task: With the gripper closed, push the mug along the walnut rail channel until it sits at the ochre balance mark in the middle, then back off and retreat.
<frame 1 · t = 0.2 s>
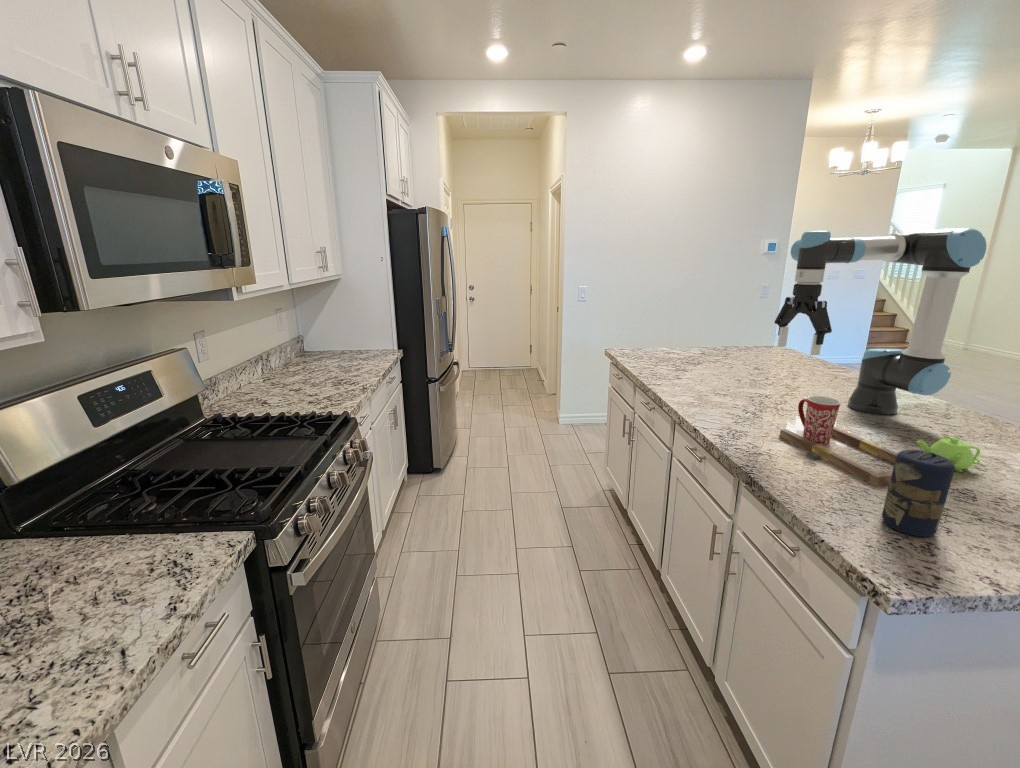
hand: (797, 350, 153), 27 cm above the counter, fingers open, 13 cm apart
teapot: (943, 466, 134), on the counter
canister: (907, 528, 104), on the counter
mug: (811, 438, 153), on the counter
beam slot: (846, 454, 141), on the counter
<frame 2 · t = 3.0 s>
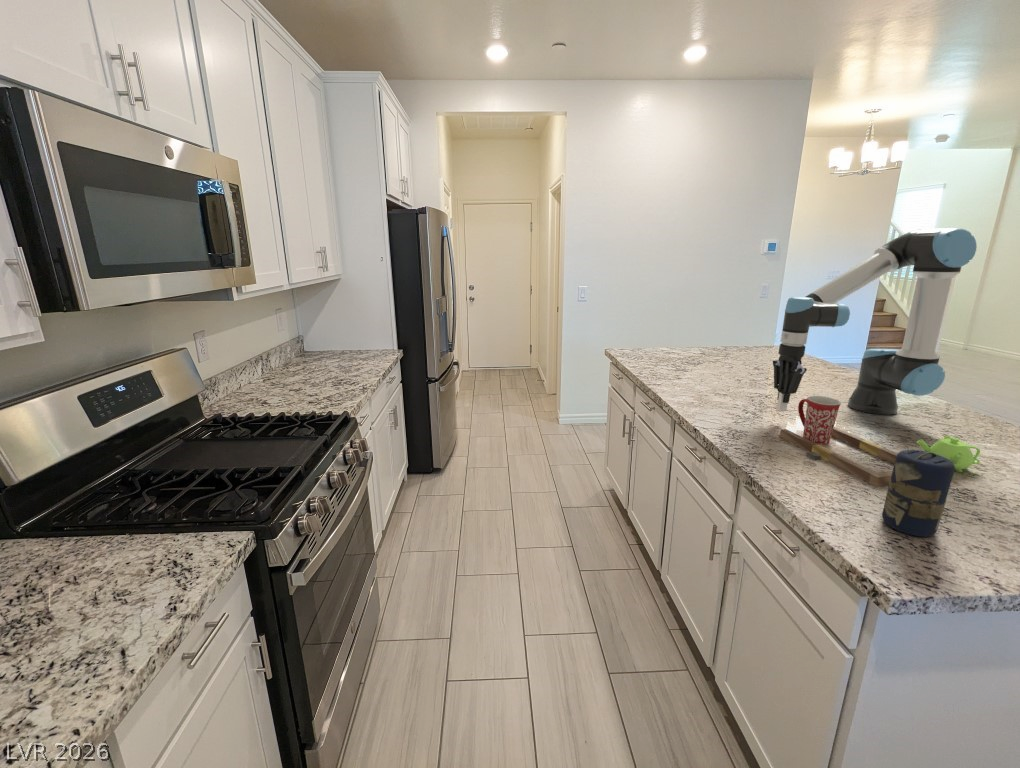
hand: (781, 410, 165), 5 cm above the counter, fingers closed
nothing on the counter moved.
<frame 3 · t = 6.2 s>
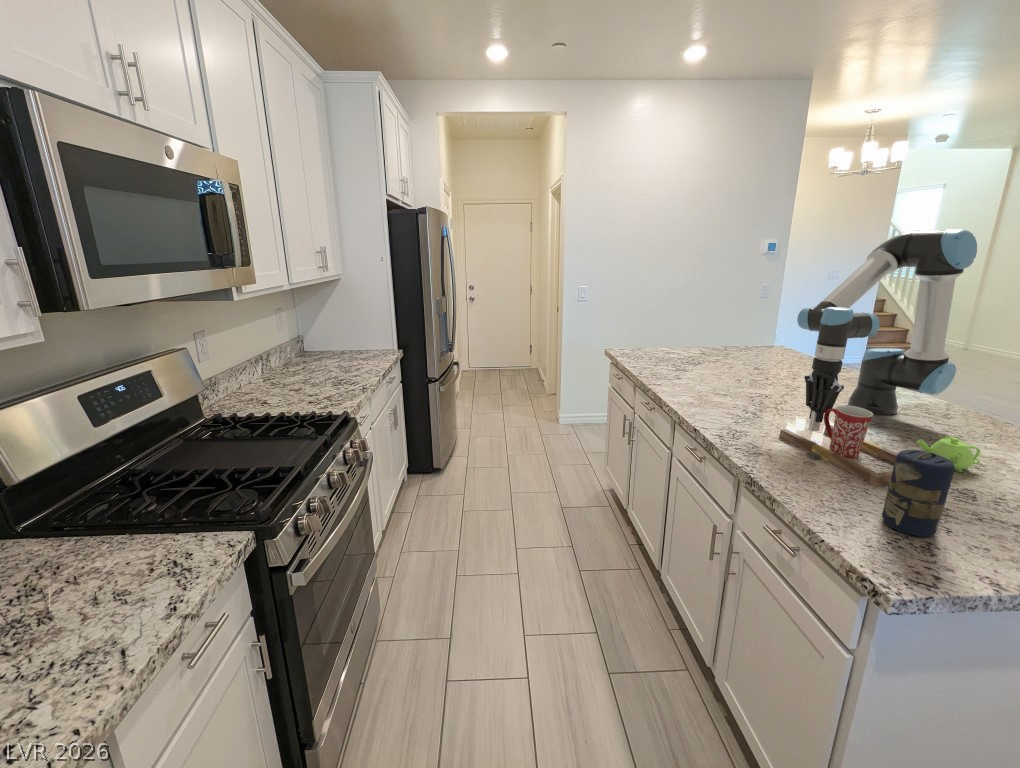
hand: (813, 430, 152), 3 cm above the counter, fingers closed
mug: (838, 450, 144), on the counter, touching hand
everything else where it was.
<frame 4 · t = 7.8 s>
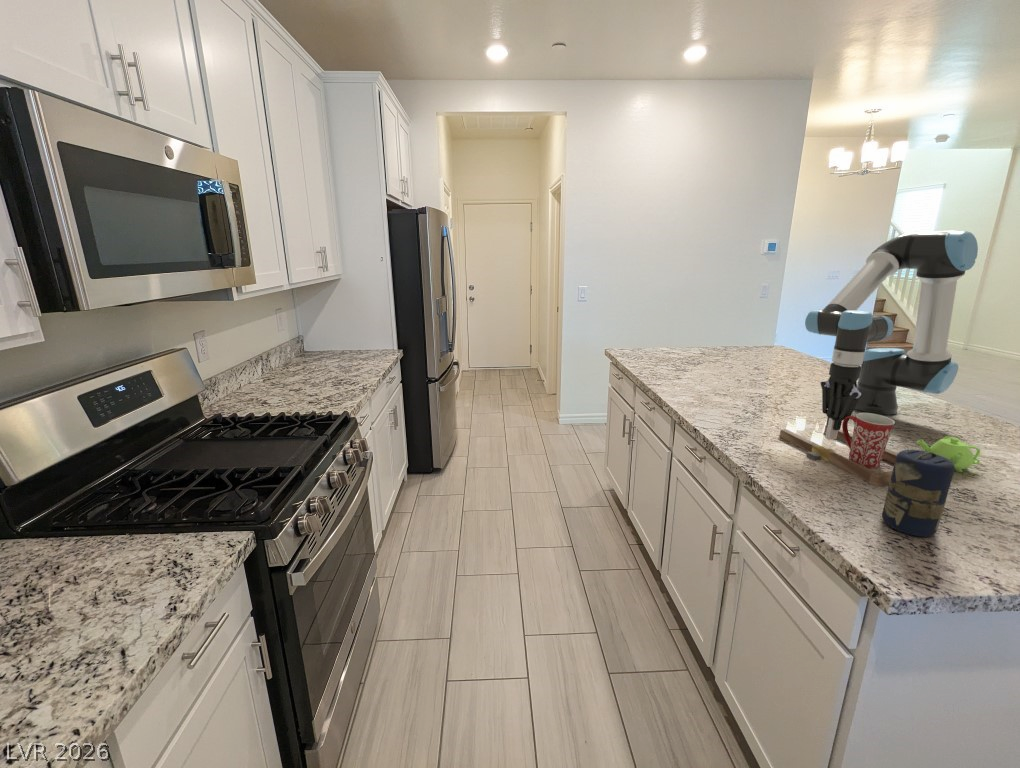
hand: (830, 438, 146), 3 cm above the counter, fingers closed
mug: (858, 460, 137), on the counter, touching hand
everything else where it was.
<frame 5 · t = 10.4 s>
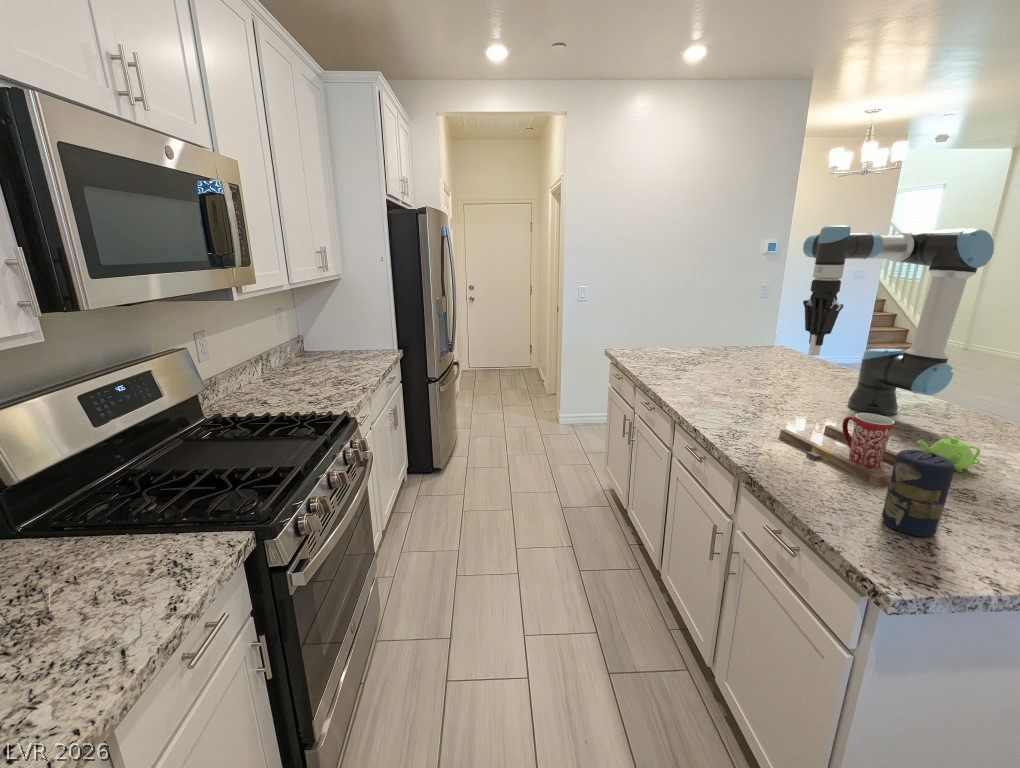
hand: (813, 354, 151), 26 cm above the counter, fingers closed
mug: (858, 460, 137), on the counter
everything else where it was.
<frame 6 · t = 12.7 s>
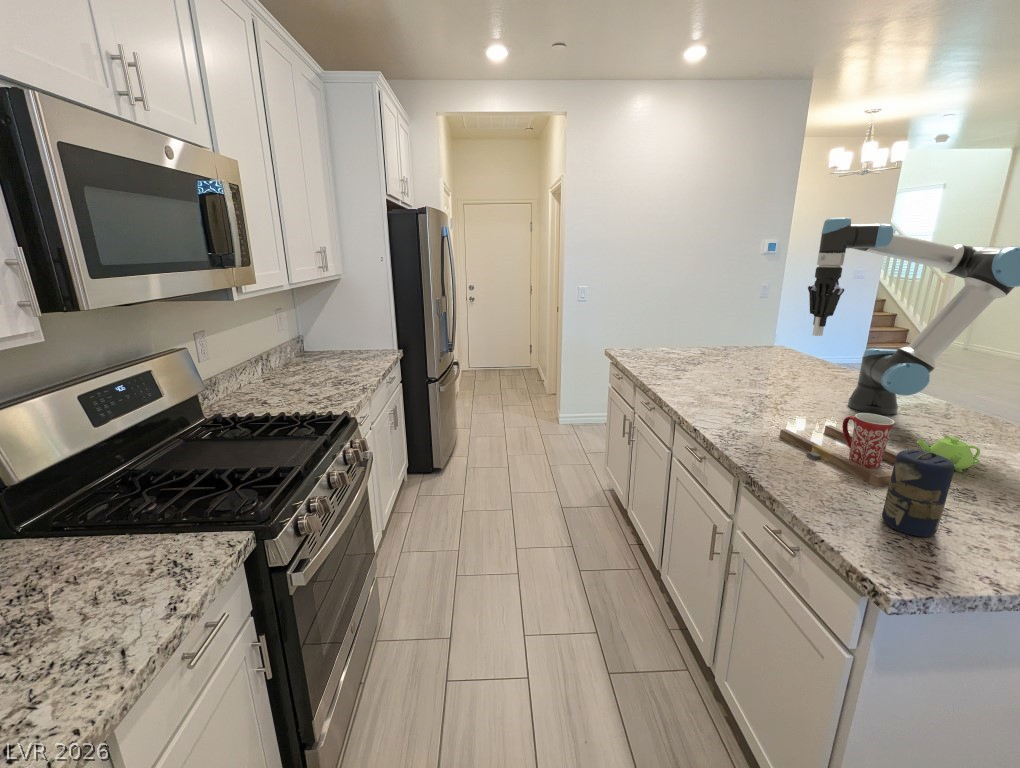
hand: (817, 335, 167), 29 cm above the counter, fingers closed
nothing on the counter moved.
at the end: mug inside the target area (2.0 cm from its centre), on the counter; mug tilted 0° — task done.
